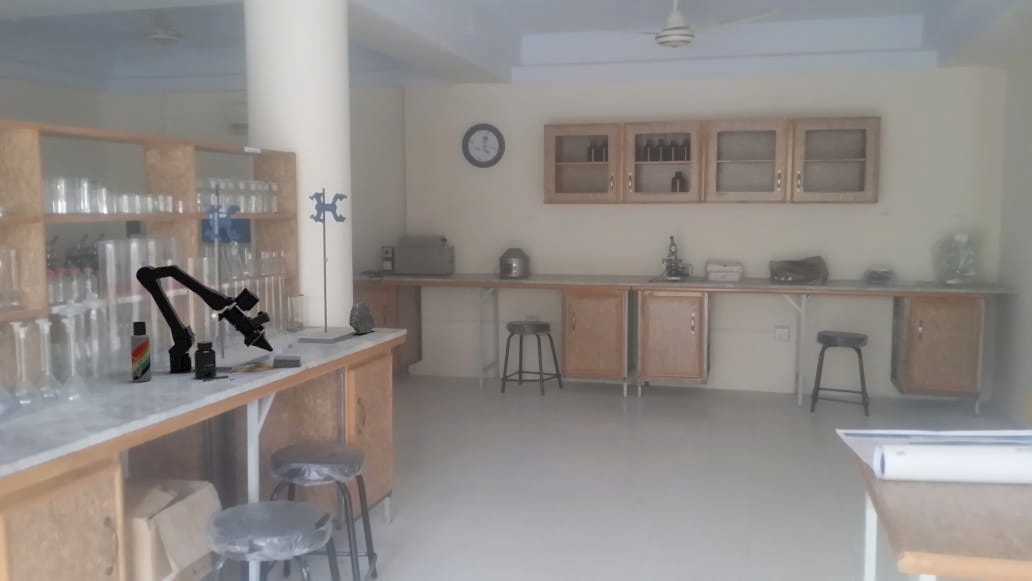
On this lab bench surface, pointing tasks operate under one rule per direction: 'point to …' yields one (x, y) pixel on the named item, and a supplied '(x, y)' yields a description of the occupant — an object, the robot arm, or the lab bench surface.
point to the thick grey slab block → (286, 361)
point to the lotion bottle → (140, 353)
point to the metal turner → (214, 378)
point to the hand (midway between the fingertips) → (272, 350)
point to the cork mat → (256, 367)
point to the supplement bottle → (205, 360)
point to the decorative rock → (361, 318)
